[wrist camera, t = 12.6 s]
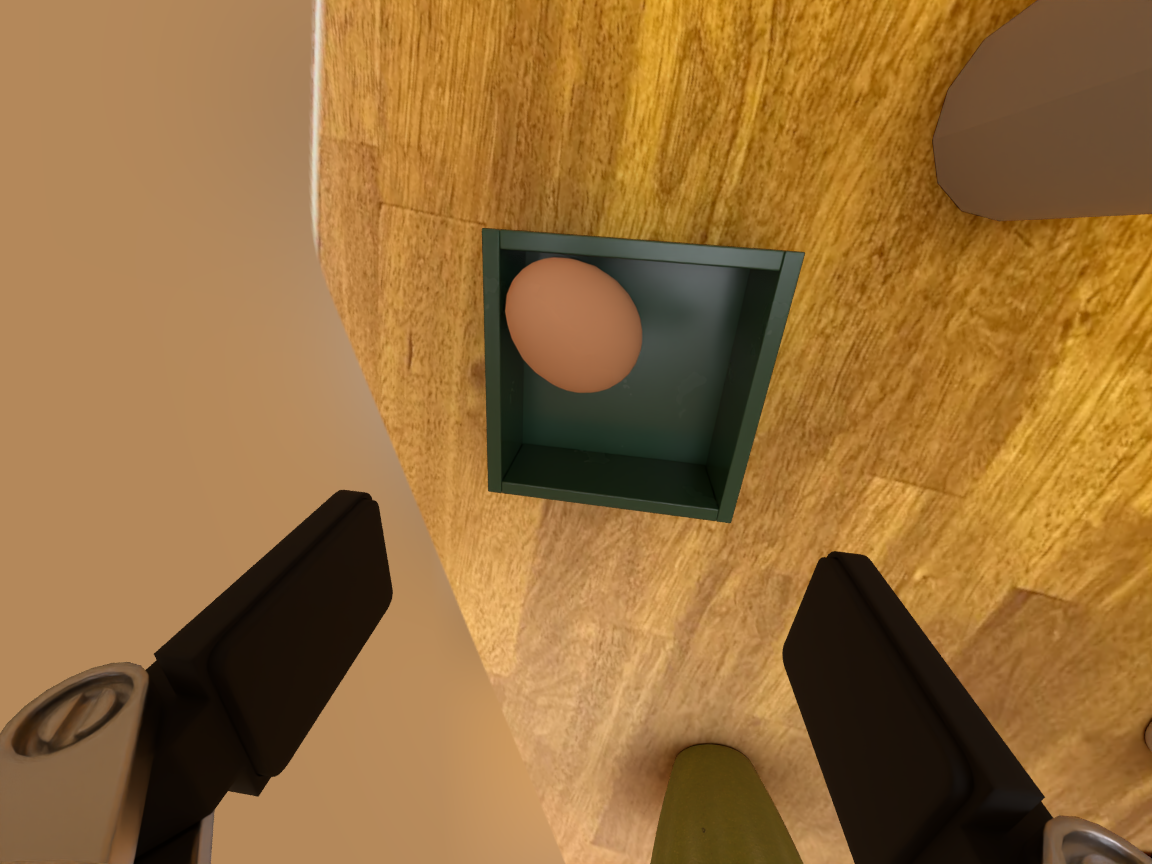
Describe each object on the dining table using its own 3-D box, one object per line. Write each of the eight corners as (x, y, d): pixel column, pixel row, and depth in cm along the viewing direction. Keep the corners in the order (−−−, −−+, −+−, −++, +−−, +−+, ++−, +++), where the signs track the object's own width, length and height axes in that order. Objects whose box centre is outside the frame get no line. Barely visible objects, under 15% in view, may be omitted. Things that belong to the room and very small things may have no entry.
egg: (635, 293, 24) (555, 190, 17) (681, 371, 22) (609, 287, 15) (557, 351, 26) (457, 280, 19) (591, 429, 24) (489, 379, 17)
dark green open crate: (513, 447, 29) (487, 491, 24) (514, 230, 23) (481, 227, 18) (714, 472, 28) (731, 523, 23) (767, 249, 22) (805, 252, 17)
